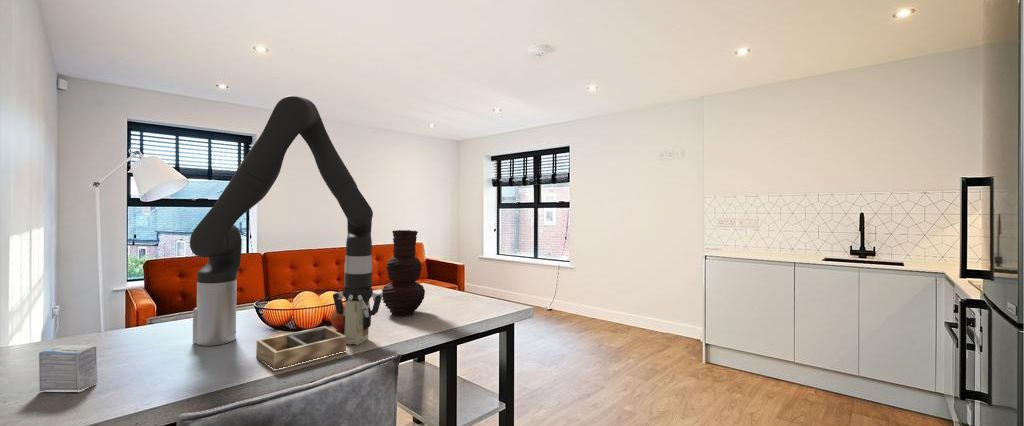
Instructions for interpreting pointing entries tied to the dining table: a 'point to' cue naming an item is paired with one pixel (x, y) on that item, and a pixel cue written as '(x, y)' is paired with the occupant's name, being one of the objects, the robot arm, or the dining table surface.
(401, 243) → the vase
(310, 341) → the walled box
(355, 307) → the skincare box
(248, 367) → the dining table surface
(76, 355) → the grey striped block
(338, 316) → the apple
